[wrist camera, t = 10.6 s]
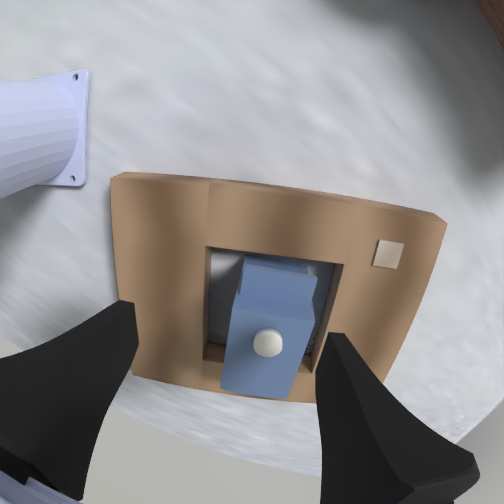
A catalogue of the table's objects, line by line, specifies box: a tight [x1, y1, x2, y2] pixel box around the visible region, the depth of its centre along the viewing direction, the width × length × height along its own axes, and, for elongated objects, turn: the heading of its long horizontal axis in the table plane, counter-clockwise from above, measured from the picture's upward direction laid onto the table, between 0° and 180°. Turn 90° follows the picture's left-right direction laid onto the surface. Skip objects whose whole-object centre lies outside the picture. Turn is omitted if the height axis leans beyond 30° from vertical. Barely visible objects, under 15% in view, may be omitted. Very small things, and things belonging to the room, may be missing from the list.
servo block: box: [220, 255, 318, 399], centre depth 18 cm, size 4×9×7 cm, turn 171°
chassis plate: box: [110, 172, 447, 403], centre depth 20 cm, size 20×16×2 cm
